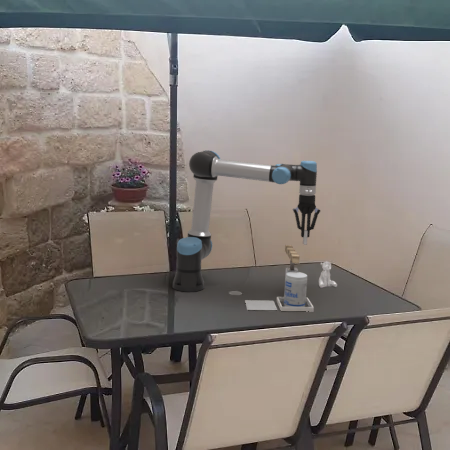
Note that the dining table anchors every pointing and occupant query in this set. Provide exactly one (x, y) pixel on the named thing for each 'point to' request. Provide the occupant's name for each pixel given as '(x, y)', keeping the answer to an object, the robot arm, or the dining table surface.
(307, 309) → the holder tray
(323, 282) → the white creature statuette
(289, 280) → the supplement tub
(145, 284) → the dining table surface
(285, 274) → the post
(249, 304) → the rubber mat
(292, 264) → the T-handle
